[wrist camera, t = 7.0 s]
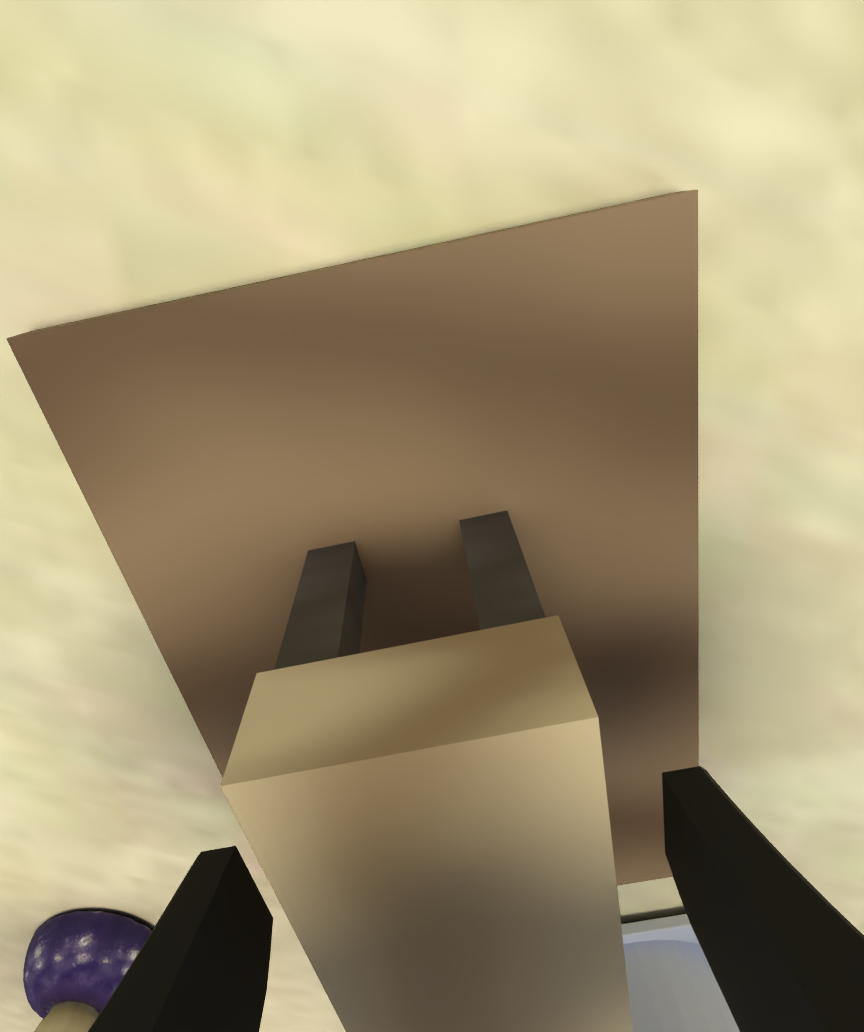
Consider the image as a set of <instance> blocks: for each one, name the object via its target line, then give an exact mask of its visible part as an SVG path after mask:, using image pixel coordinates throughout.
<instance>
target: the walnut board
mask: <svg viewBox="0 0 864 1032" xmlns="http://www.w3.org/2000/svg"><path fill="white" fill-rule="evenodd" d="M6 339H7V341H8V343H9V345H10V347H11V349H12V351H13V353H14V355H15V357H16V359H17V361H18V363H19V365H20V367H21V369H22V371H23V373H24V375H25V377H26V379H27V381H28V383H29V385H30V387H31V389H32V392H33V394H34V396H35V398H36V400H37V402H38V404H39V406H40V408H41V410H42V412H43V414H44V416H45V418H46V420H47V422H48V424H49V426H50V428H51V430H52V432H53V434H54V436H55V438H56V440H57V442H58V444H59V446H60V448H61V450H62V452H63V454H64V456H65V458H66V461H67V463H68V465H69V467H70V469H71V471H72V473H73V475H74V477H75V479H76V481H77V483H78V485H79V487H80V489H81V491H82V493H83V495H84V497H85V499H86V501H87V503H88V505H89V507H90V509H91V511H92V513H93V515H94V517H95V519H96V521H97V523H98V525H99V527H100V530H101V532H102V534H103V536H104V538H105V540H106V542H107V544H108V546H109V548H110V550H111V552H112V554H113V556H114V558H115V560H116V562H117V564H118V566H119V568H120V570H121V572H122V574H123V576H124V578H125V580H126V582H127V584H128V586H129V588H130V590H131V592H132V594H133V596H134V599H135V601H136V603H137V605H138V607H139V609H140V611H141V613H142V615H143V617H144V619H145V621H146V623H147V625H148V627H149V629H150V631H151V633H152V635H153V637H154V639H155V641H156V643H157V645H158V647H159V649H160V651H161V653H162V655H163V657H164V659H165V661H166V663H167V665H168V667H169V670H170V672H171V674H172V676H173V678H174V680H175V682H176V684H177V686H178V688H179V690H180V692H181V694H182V696H183V698H184V700H185V702H186V704H187V706H188V708H189V710H190V712H191V714H192V716H193V718H194V720H195V722H196V724H197V726H198V728H199V730H200V732H201V734H202V736H203V739H204V741H205V743H206V745H207V747H208V749H209V751H210V753H211V755H212V757H213V759H214V761H215V763H216V765H217V767H218V769H219V771H220V773H221V775H222V777H223V776H224V773H225V770H226V767H227V764H228V761H229V758H230V755H231V751H232V748H233V745H234V742H235V739H236V736H237V733H238V730H239V727H240V723H241V720H242V717H243V714H244V711H245V708H246V705H247V702H248V699H249V695H250V692H251V689H252V686H253V683H254V680H255V677H256V674H257V673H260V672H266V671H271V670H274V668H275V665H276V661H277V658H278V654H279V651H280V647H281V644H282V640H283V637H284V633H285V630H286V626H287V623H288V619H289V616H290V612H291V609H292V605H293V602H294V598H295V595H296V591H297V588H298V584H299V581H300V577H301V574H302V570H303V566H304V563H305V559H306V556H307V552H308V550H313V549H318V548H323V547H328V546H333V545H338V544H343V543H348V542H353V541H355V543H356V547H357V550H358V553H359V557H360V560H361V563H362V567H363V570H364V574H365V577H366V580H367V584H366V594H365V604H364V615H363V625H362V635H361V645H360V653H364V652H369V651H375V650H380V649H385V648H390V647H395V646H401V645H406V644H411V643H416V642H421V641H427V640H432V639H437V638H442V637H447V636H453V635H458V634H463V633H468V632H473V631H479V630H480V628H479V622H478V617H477V612H476V606H475V601H474V596H473V591H472V585H471V580H470V575H469V569H468V564H467V559H466V553H465V548H464V543H463V537H462V532H461V527H460V522H459V520H462V519H467V518H472V517H477V516H482V515H487V514H492V513H497V512H502V511H508V514H509V517H510V519H511V522H512V525H513V528H514V531H515V533H516V536H517V539H518V542H519V544H520V547H521V550H522V553H523V556H524V558H525V561H526V564H527V567H528V569H529V572H530V575H531V578H532V581H533V583H534V586H535V589H536V592H537V595H538V597H539V600H540V603H541V606H542V608H543V611H544V614H545V617H551V616H557V615H558V616H559V618H560V621H561V623H562V626H563V628H564V631H565V633H566V636H567V639H568V641H569V644H570V646H571V649H572V651H573V654H574V656H575V659H576V661H577V664H578V667H579V669H580V672H581V674H582V677H583V679H584V682H585V684H586V687H587V689H588V692H589V695H590V697H591V700H592V702H593V705H594V707H595V710H596V712H597V715H598V718H599V728H600V737H601V746H602V755H603V764H604V773H605V782H606V791H607V800H608V809H609V819H610V828H611V837H612V846H613V855H614V864H615V873H616V882H617V885H623V884H630V883H636V882H642V881H648V880H654V879H660V878H666V877H672V876H673V874H672V871H671V869H670V866H669V863H668V860H667V857H666V854H665V839H664V813H663V787H662V772H668V771H674V770H680V769H686V768H691V767H697V766H698V190H691V191H681V192H675V193H670V194H665V195H661V196H656V197H651V198H647V199H642V200H638V201H633V202H628V203H624V204H619V205H614V206H610V207H605V208H600V209H596V210H591V211H586V212H582V213H577V214H572V215H568V216H563V217H559V218H554V219H549V220H545V221H540V222H535V223H531V224H526V225H521V226H517V227H512V228H507V229H503V230H498V231H493V232H489V233H484V234H480V235H475V236H470V237H466V238H461V239H456V240H452V241H447V242H442V243H438V244H433V245H428V246H424V247H419V248H414V249H410V250H405V251H401V252H396V253H391V254H387V255H382V256H377V257H373V258H368V259H363V260H359V261H354V262H349V263H345V264H340V265H335V266H331V267H326V268H322V269H317V270H312V271H308V272H303V273H298V274H294V275H289V276H284V277H280V278H275V279H270V280H266V281H261V282H256V283H252V284H247V285H243V286H238V287H233V288H229V289H224V290H219V291H215V292H210V293H205V294H201V295H196V296H191V297H187V298H182V299H178V300H173V301H168V302H164V303H159V304H154V305H150V306H145V307H140V308H136V309H131V310H126V311H122V312H117V313H112V314H108V315H103V316H99V317H94V318H89V319H85V320H80V321H75V322H71V323H66V324H61V325H57V326H52V327H47V328H43V329H38V330H33V331H30V332H26V333H23V334H20V335H16V336H13V337H10V338H6Z"/></svg>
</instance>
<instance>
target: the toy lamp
mask: <svg viewBox="0 0 864 1032" xmlns="http://www.w3.org/2000/svg"><path fill="white" fill-rule="evenodd" d="M151 932H152V930H151V929H149V928H148V927H147V926H145V925H144V924H140V923H138V922H135V921H134V920H133V919H132V918H128V917H125V916H121V915H118V914H113V913H108V912H103V911H75V912H71V913H66V914H63V915H60V916H57V917H54V918H52V919H50V920H48V921H47V922H46V923H44V924H43V925H42V926H41V927H40V928H39V929H37V930H36V932H35V933H34V936H33V938H32V940H31V942H30V944H29V947H28V951H27V954H26V958H25V964H24V978H23V981H24V988H25V992H26V996H27V999H28V1002H29V1003H30V1005H31V1007H32V1009H33V1010H34V1011H35V1012H37V1014H38V1015H39V1016H40V1017H42V1018H43V1020H42V1021H41V1022H40V1024H39V1025H38V1027H37V1028H36V1030H35V1032H88V1030H89V1029H90V1027H91V1026H92V1024H93V1023H94V1021H95V1020H96V1018H97V1017H98V1015H99V1014H100V1012H101V1011H102V1009H103V1008H104V1006H105V1005H106V1003H107V1002H108V1000H109V998H110V997H111V995H112V994H113V992H114V991H115V989H116V987H117V986H118V984H119V983H120V981H121V980H122V978H123V977H124V975H125V973H126V972H127V970H128V969H129V967H130V966H131V964H132V962H133V961H134V959H135V958H136V956H137V955H138V953H139V951H140V950H141V948H142V947H143V945H144V943H145V942H146V940H147V938H148V937H149V935H150V934H151Z"/></svg>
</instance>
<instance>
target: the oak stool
mask: <svg viewBox="0 0 864 1032" xmlns="http://www.w3.org/2000/svg"><path fill="white" fill-rule="evenodd" d="M459 522H460V527H461V532H462V537H463V543H464V548H465V553H466V559H467V564H468V569H469V575H470V580H471V585H472V591H473V596H474V601H475V606H476V612H477V617H478V622H479V628H480V630H479V631H473V632H468V633H463V634H458V635H453V636H447V637H442V638H437V639H432V640H427V641H421V642H416V643H411V644H406V645H401V646H395V647H390V648H385V649H380V650H375V651H369V652H364V653H360V645H361V635H362V625H363V615H364V604H365V594H366V584H367V580H366V577H365V574H364V570H363V567H362V563H361V560H360V557H359V553H358V550H357V547H356V543H355V541H353V542H348V543H343V544H338V545H333V546H328V547H323V548H318V549H313V550H308V552H307V556H306V559H305V563H304V566H303V570H302V574H301V577H300V581H299V584H298V588H297V591H296V595H295V598H294V602H293V605H292V609H291V612H290V616H289V619H288V623H287V626H286V630H285V633H284V637H283V640H282V644H281V647H280V651H279V654H278V658H277V661H276V665H275V668H274V670H271V671H266V672H260V673H257V674H256V677H255V680H254V683H253V686H252V689H251V692H250V695H249V699H248V702H247V705H246V708H245V711H244V714H243V717H242V720H241V723H240V727H239V730H238V733H237V736H236V739H235V742H234V745H233V748H232V751H231V755H230V758H229V761H228V764H227V767H226V770H225V773H224V776H223V779H222V783H221V786H220V787H221V789H222V791H223V793H224V795H225V797H226V798H227V800H228V802H229V804H230V806H231V808H232V810H233V812H234V814H235V816H236V818H237V820H238V822H239V824H240V826H241V828H242V830H243V832H244V834H245V836H246V837H247V839H248V841H249V843H250V845H251V847H252V849H253V851H254V853H255V855H256V857H257V859H258V861H259V863H260V865H261V867H262V869H263V871H264V873H265V875H266V876H267V878H268V880H269V882H270V884H271V886H272V888H273V890H274V892H275V894H276V896H277V898H278V900H279V902H280V904H281V906H282V908H283V910H284V912H285V914H286V915H287V917H288V919H289V921H290V923H291V925H292V927H293V929H294V931H295V933H296V935H297V937H298V939H299V941H300V943H301V945H302V947H303V949H304V951H305V953H306V954H307V956H308V958H309V960H310V962H311V964H312V966H313V968H314V970H315V972H316V974H317V976H318V978H319V980H320V982H321V984H322V986H323V988H324V990H325V992H326V993H327V995H328V997H329V999H330V1001H331V1003H332V1005H333V1007H334V1009H335V1011H336V1013H337V1015H338V1017H339V1019H340V1021H341V1023H342V1025H343V1027H344V1029H345V1031H346V1032H633V1028H632V1019H631V1009H630V1000H629V991H628V982H627V973H626V964H625V955H624V946H623V937H622V928H621V919H620V909H619V900H618V891H617V882H616V873H615V864H614V855H613V846H612V837H611V828H610V819H609V809H608V800H607V791H606V782H605V773H604V764H603V755H602V746H601V737H600V728H599V718H598V715H597V712H596V710H595V707H594V705H593V702H592V700H591V697H590V695H589V692H588V689H587V687H586V684H585V682H584V679H583V677H582V674H581V672H580V669H579V667H578V664H577V661H576V659H575V656H574V654H573V651H572V649H571V646H570V644H569V641H568V639H567V636H566V633H565V631H564V628H563V626H562V623H561V621H560V618H559V616H558V615H557V616H551V617H545V614H544V611H543V608H542V606H541V603H540V600H539V597H538V595H537V592H536V589H535V586H534V583H533V581H532V578H531V575H530V572H529V569H528V567H527V564H526V561H525V558H524V556H523V553H522V550H521V547H520V544H519V542H518V539H517V536H516V533H515V531H514V528H513V525H512V522H511V519H510V517H509V514H508V511H502V512H497V513H492V514H487V515H482V516H477V517H472V518H467V519H462V520H459Z"/></svg>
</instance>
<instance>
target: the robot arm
mask: <svg viewBox="0 0 864 1032" xmlns="http://www.w3.org/2000/svg"><path fill="white" fill-rule="evenodd" d="M662 787H663V813H664V839H665V854H666V857H667V860H668V863H669V866H670V869H671V871H672V874H673V877H674V880H675V883H676V886H677V889H678V891H679V894H680V897H681V900H682V903H683V905H684V908H685V911H686V914H682V915H676V916H670V917H663V918H657V919H651V920H645V921H639V922H632V923H626V924H621V928H622V937H623V946H624V955H625V964H626V973H627V982H628V991H629V1000H630V1009H631V1019H632V1028H633V1032H864V935H863V934H862V933H861V932H860V931H858V930H857V929H856V928H855V927H854V926H853V925H852V924H851V923H850V922H849V921H848V920H847V919H846V918H845V917H844V916H843V915H842V914H841V913H840V912H839V911H838V910H837V909H835V908H834V907H833V906H832V905H831V904H830V903H829V902H828V901H827V900H826V899H825V898H824V897H823V896H822V895H821V894H820V893H819V892H818V891H817V890H816V889H815V888H814V887H813V886H812V885H811V884H810V883H809V882H808V881H807V880H806V879H805V878H804V877H803V876H802V875H801V874H800V873H799V872H798V871H797V870H796V869H795V868H794V867H793V866H792V865H791V864H790V863H789V862H788V861H787V859H786V858H785V857H784V856H783V855H782V854H781V853H780V852H779V851H778V850H777V849H776V848H775V847H774V846H773V845H772V844H771V843H770V842H769V841H768V840H767V838H766V837H765V836H764V835H763V834H762V833H761V832H760V831H759V830H758V829H757V828H756V827H755V826H754V824H753V823H752V822H751V821H750V820H749V819H748V818H747V817H746V816H745V815H744V813H743V812H742V811H741V810H740V809H739V808H738V807H737V806H736V805H735V803H734V802H733V801H732V800H731V799H730V798H729V797H728V795H727V794H726V793H725V792H724V791H723V790H722V789H721V787H720V786H719V785H718V784H717V783H716V782H715V780H714V779H713V778H712V777H711V776H710V774H709V773H708V772H707V771H706V770H705V769H703V768H702V767H700V766H697V767H691V768H686V769H680V770H674V771H668V772H662ZM272 925H273V917H272V915H271V913H270V911H269V909H268V907H267V905H266V904H265V902H264V900H263V898H262V896H261V894H260V892H259V890H258V888H257V886H256V884H255V882H254V880H253V878H252V876H251V874H250V872H249V871H248V869H247V867H246V865H245V863H244V861H243V859H242V857H241V855H240V853H239V851H238V849H237V847H236V846H232V847H227V848H221V849H215V850H209V851H203V852H201V853H200V854H199V856H198V857H197V858H196V860H195V862H194V863H193V865H192V866H191V868H190V870H189V871H188V873H187V875H186V876H185V878H184V880H183V881H182V883H181V884H180V886H179V888H178V889H177V891H176V893H175V894H174V896H173V898H172V899H171V901H170V903H169V904H168V906H167V908H166V909H165V911H164V912H163V914H162V916H161V917H160V919H159V921H158V922H157V924H156V925H155V927H154V929H153V930H152V932H151V934H150V935H149V937H148V938H147V940H146V942H145V943H144V945H143V947H142V948H141V950H140V951H139V953H138V955H137V956H136V958H135V959H134V961H133V962H132V964H131V966H130V967H129V969H128V970H127V972H126V973H125V975H124V977H123V978H122V980H121V981H120V983H119V984H118V986H117V987H116V989H115V991H114V992H113V994H112V995H111V997H110V998H109V1000H108V1002H107V1003H106V1005H105V1006H104V1008H103V1009H102V1011H101V1012H100V1014H99V1015H98V1017H97V1018H96V1020H95V1021H94V1023H93V1024H92V1026H91V1027H90V1029H89V1030H88V1032H259V1028H260V1022H261V1017H262V1012H263V1007H264V1001H265V996H266V990H267V980H268V971H269V961H270V950H271V937H272Z"/></svg>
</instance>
